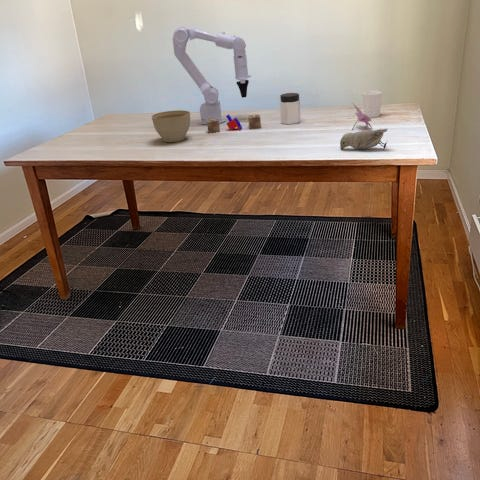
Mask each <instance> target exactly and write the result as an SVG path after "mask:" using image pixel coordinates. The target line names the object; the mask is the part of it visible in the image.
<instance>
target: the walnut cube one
mask: <svg viewBox="0 0 480 480" xmlns="http://www.w3.org/2000/svg"><path fill="white" fill-rule="evenodd" d="M247 118H248V128H249V130H258V129H259V130H260V129H262V123H261V115H260V114H252V115H247Z"/></svg>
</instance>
